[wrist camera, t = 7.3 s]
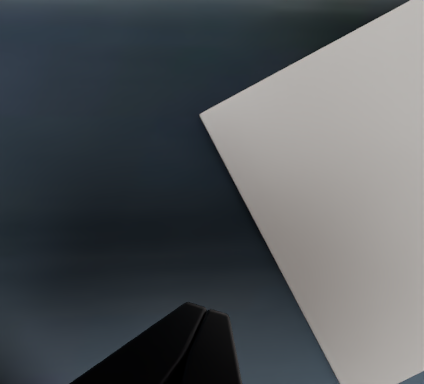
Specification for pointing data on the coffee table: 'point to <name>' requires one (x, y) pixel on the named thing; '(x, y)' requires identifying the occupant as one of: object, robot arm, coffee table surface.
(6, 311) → the coffee table surface
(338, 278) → the white square board
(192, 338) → the robot arm
